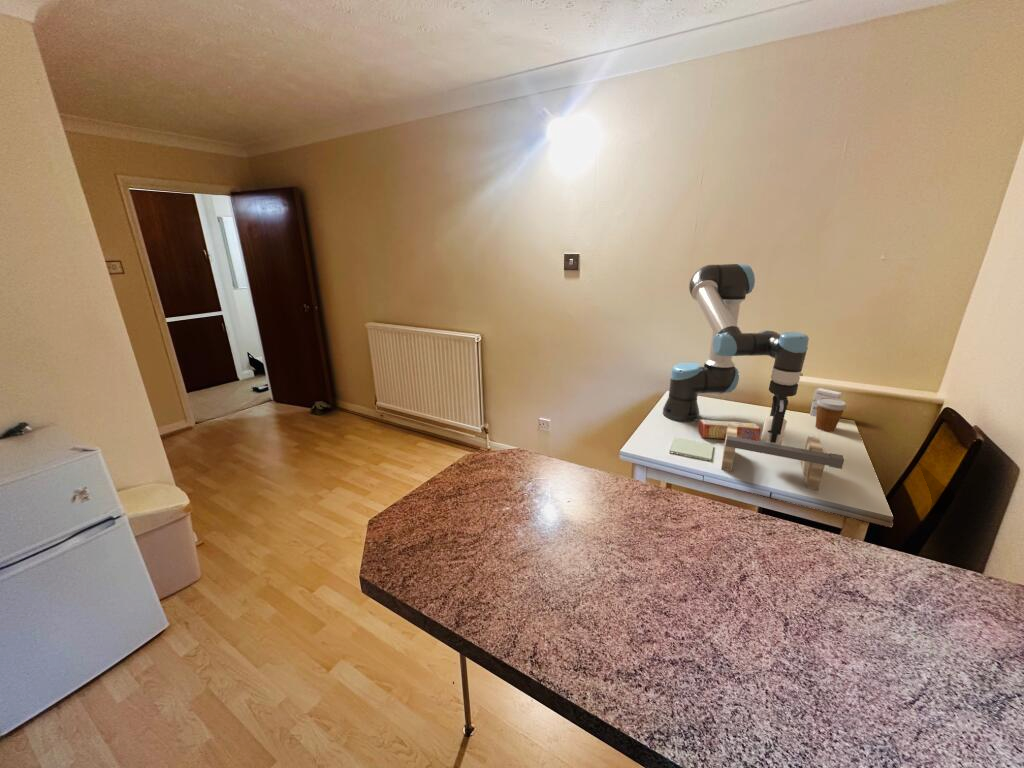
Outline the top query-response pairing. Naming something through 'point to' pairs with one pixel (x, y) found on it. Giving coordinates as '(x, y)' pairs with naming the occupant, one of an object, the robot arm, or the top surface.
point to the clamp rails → (809, 469)
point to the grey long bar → (786, 451)
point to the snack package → (720, 428)
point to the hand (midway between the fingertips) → (770, 445)
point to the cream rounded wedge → (768, 427)
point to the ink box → (823, 393)
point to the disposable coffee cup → (829, 413)
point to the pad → (692, 448)
